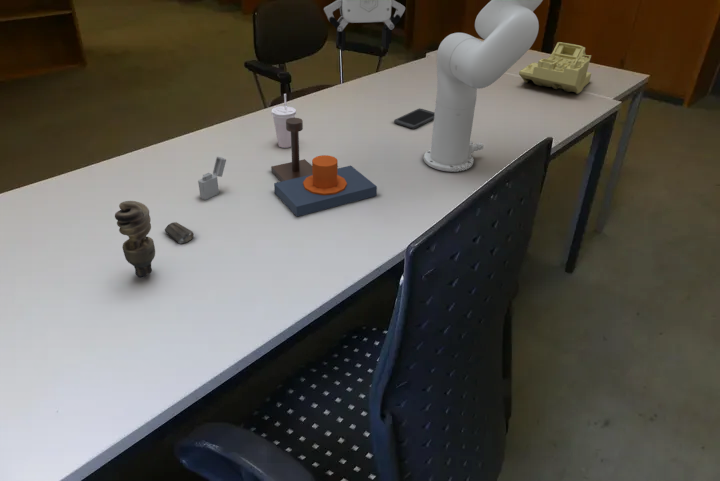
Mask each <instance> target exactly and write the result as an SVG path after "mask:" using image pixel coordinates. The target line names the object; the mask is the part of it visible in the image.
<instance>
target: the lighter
mask: <svg viewBox="0 0 720 481" xmlns="http://www.w3.org/2000/svg"><path fill="white" fill-rule="evenodd" d="M226 164H227V159H226V158H225V157H222V156H216V157H215V162H214V166H213V170H212V173H211V172H207V173H204V174H202V178H200V179H198V180H197V183H198V190H199V191H198V192H199V198H200V199H202V200H204V201H206V200H209V199H211V198H213V197H216V196H217V195H219V194H220V190H219V181H218V177H220V178H222V177H223V174H224V170H225V166H226Z"/></svg>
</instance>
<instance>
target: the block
mask: <svg viewBox="0 0 720 481" xmlns="http://www.w3.org/2000/svg"><path fill="white" fill-rule="evenodd" d="M164 232H165V233H166V234H167V235H168V236H170V238H172V239H173V240H174V241H175V242H176V243H177V244H185V243H188V242H190V241H192V239H193V237H194V232H193V231H192V230H191V229H189V228H187V227H185V226H184V225H182V224H181V223H179V222H177V221H175V222H174V221H173V222H171V223H169V224H168V225H167V226H166V227H165V228H164Z"/></svg>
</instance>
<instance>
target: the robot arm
mask: <svg viewBox="0 0 720 481" xmlns="http://www.w3.org/2000/svg"><path fill="white" fill-rule="evenodd" d="M543 1H544V0H489V2H488V3H487V4H486V5H485V6H483V8H482V9H481V10H480V11H479V12H478V14H477V15H476V18H475V21H474V29H475V31H476V32H475V33H477V35H478V36H479V37H480V38H481V39H483V41H482V40H480V39H478V38H477V37H475V36H473V35H471V34H468V33H465V32H454V33H450V34H448V35H447V36H445V37H444V39H442V41H441V42H440V44H439V46H438V49H437V53H436V70H437V71H436V72H437V73H436V74H437V75H436V76H437V84H436V95H435V96H436V98H435V106H434V113H435V114H434V119H433V125H432V133H431V143H430V144H431V145H430V149H429V150H426V151H425V152H424V155H423V161H424V163H425V164H426V165H427V166H429V167H431V168H433V169H435V170H439V171H442V172H451V173H453V172H454V173H455V172H463V171H467V170H468V169H470V168H471V167H473V165H474V156H473V155H472V154H473V153H475V152H477V151H482V150H483V149H484V145H483V143H482V142H476V143H473V141H472V140H471V137H472V131H473V122H474V118H475V110H476V109H475V108H476V103H477V93H478V89H479V90H480V89H485V88H488V87H489V86H491V85H492V84H494V83H496V81H497V80H499V79H500V78H501V77H502V76H503V75H504V74H506V72H507V71H508V70H510V69H511V68H512V66H514V65H515V64H517V62H518V61H519V60H520V59H521V58H522V57H523V56H524V55H526V53H527V52H528V51H529V50H530V49H531V47H533V45H534V43H535V41H536V39H537V37H538V34H539V28H540V24H539V19H538V17H537V15H536V14H535V13H534V12H535V10H536V9H537V8H538V7H539V6H540V5H541V4H542V2H543ZM392 8H394V9H395V12H394V14H393V15H392ZM338 9H339V14H340V16H339V18H338V19H336V18H335V16H334V12H335V11H337V10H338ZM405 10H406V7H405V6H404V5H403V4H401V3H400V2H398V1H396V0H335V1H333V2H332V3H330V4H328V5H326V6H324V7H323V12H324V14H325V16H326V18H327V21H328V22H329V23H330V24H331V25H332V26H333V27H334V28H335V29H336V38H335V39H336V40H335V41H336V46H337V47H338V48H339V49H340V51H341V52H345V51H346V35H347V34H346V31H345V29H346V27H347V26H348V24H350V23H351V24H354V23H356V24H357V23H358V24H360V23H361V24H362V23H383V26H382V28H381V46H382V47H383V48H384V49H385V50H389V49H390V45H391V44H392V32H393V31H392V30H394V28H395V27H396V25H397V24H398V23H399V22H400V20H401V18H402V16H403V14H404V13H405Z"/></svg>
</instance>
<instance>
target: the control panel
mask: <svg viewBox="0 0 720 481" xmlns="http://www.w3.org/2000/svg"><path fill="white" fill-rule="evenodd" d="M592 56H593V55H592V54H590V55H589V54H586V47H585V46H583V45H579V44H574V43H569V42H561V41H558V42H557V43H556V45H555V47H554V49H553V51H552V52H551V54H550V55H549V56H548V57H547V58H544V57H543V58H541V59H539V60H538V62H535V61H534V62H531V63H529V64H527V66H526V67H523V68H522V69H521V70H519V71H518V75H519V76H520V78H521V79H522V80H523V82H524V83H528V82H533V84H534V85H537V86H541V87H548V88H552V89H555V90H558V89H562V90H563V91H564V92H567V93H571V92H572V93H575V94H577V95H578V94H580V93H581V92H582V91H583V90H584V87H586V86H587V85H588V84H589V83H590V80H591V76H592V72H590V71H588V70H589V65H590V62H591V59H592Z"/></svg>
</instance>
